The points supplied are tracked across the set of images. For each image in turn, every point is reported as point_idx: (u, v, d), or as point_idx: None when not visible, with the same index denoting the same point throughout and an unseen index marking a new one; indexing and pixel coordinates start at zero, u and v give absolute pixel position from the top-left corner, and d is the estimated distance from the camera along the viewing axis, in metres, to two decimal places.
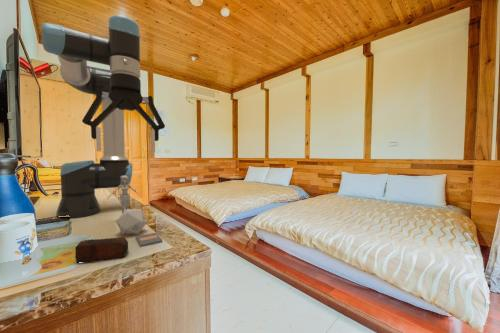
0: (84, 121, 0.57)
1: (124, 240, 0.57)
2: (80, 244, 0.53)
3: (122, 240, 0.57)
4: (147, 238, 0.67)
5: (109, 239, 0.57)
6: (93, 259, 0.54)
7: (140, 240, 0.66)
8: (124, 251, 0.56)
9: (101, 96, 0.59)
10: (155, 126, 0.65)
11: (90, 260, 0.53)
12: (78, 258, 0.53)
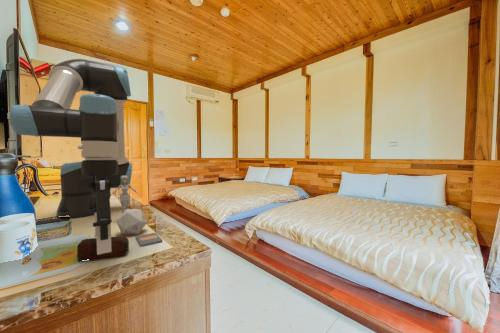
0: None
1: (125, 239, 0.58)
2: (82, 242, 0.54)
3: (123, 239, 0.58)
4: (147, 238, 0.67)
5: None
6: (94, 257, 0.55)
7: (140, 240, 0.66)
8: (125, 249, 0.57)
9: None
10: (96, 221, 0.48)
11: (92, 258, 0.54)
12: (80, 256, 0.53)
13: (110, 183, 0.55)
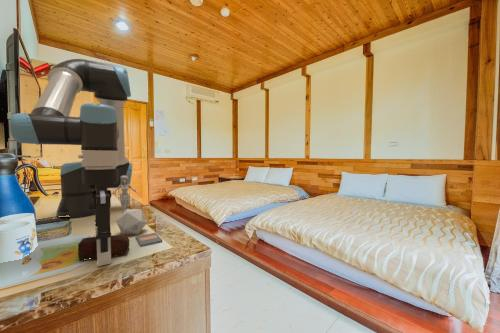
0: (95, 221, 0.60)
1: (126, 237, 0.59)
2: (83, 241, 0.55)
3: (124, 237, 0.58)
4: (147, 238, 0.67)
5: (111, 236, 0.58)
6: (95, 256, 0.55)
7: (140, 240, 0.66)
8: (126, 248, 0.57)
9: None
10: (97, 234, 0.51)
11: (92, 257, 0.55)
12: (81, 255, 0.54)
13: (110, 192, 0.55)
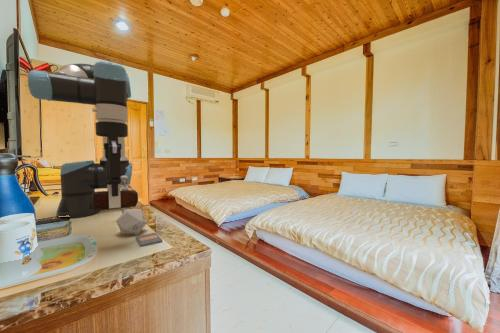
0: (107, 177, 0.65)
1: (135, 191, 0.65)
2: (96, 193, 0.59)
3: (133, 191, 0.64)
4: (147, 238, 0.67)
5: None
6: None
7: (140, 240, 0.66)
8: (136, 200, 0.64)
9: None
10: None
11: (107, 207, 0.59)
12: (96, 205, 0.58)
13: (121, 145, 0.61)
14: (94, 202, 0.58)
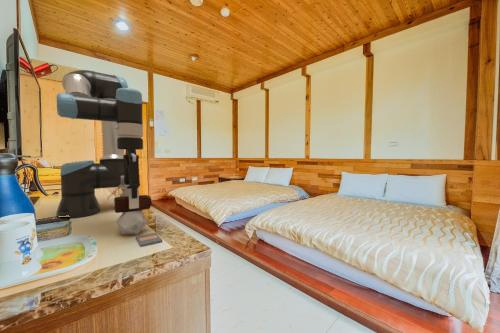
0: (124, 181, 0.78)
1: (148, 196, 0.76)
2: (118, 198, 0.70)
3: (147, 196, 0.76)
4: (147, 238, 0.67)
5: None
6: (128, 209, 0.71)
7: (140, 240, 0.66)
8: (150, 203, 0.75)
9: None
10: (129, 185, 0.68)
11: (126, 210, 0.71)
12: (117, 208, 0.70)
13: None
14: (116, 206, 0.69)
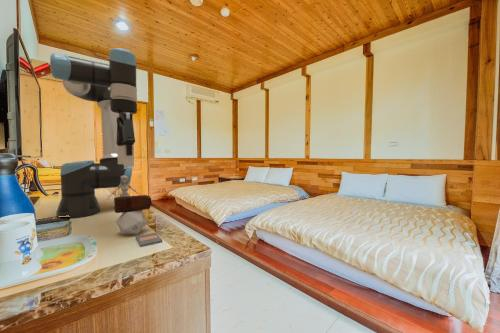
0: (116, 142, 0.79)
1: (148, 196, 0.76)
2: (117, 198, 0.70)
3: (147, 196, 0.76)
4: (147, 238, 0.67)
5: (137, 196, 0.75)
6: (128, 209, 0.71)
7: (140, 240, 0.66)
8: (150, 203, 0.75)
9: None
10: None
11: (126, 210, 0.71)
12: (117, 208, 0.70)
13: None
14: (116, 206, 0.69)
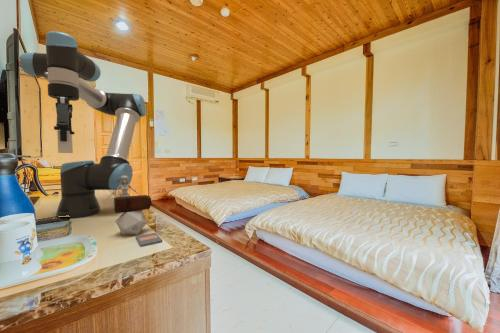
0: None
1: (148, 196, 0.76)
2: (117, 198, 0.70)
3: (147, 196, 0.76)
4: (147, 238, 0.67)
5: (136, 196, 0.75)
6: (128, 209, 0.71)
7: (140, 240, 0.66)
8: (150, 203, 0.75)
9: None
10: None
11: (126, 210, 0.71)
12: (117, 208, 0.70)
13: (71, 104, 0.69)
14: (116, 206, 0.69)
